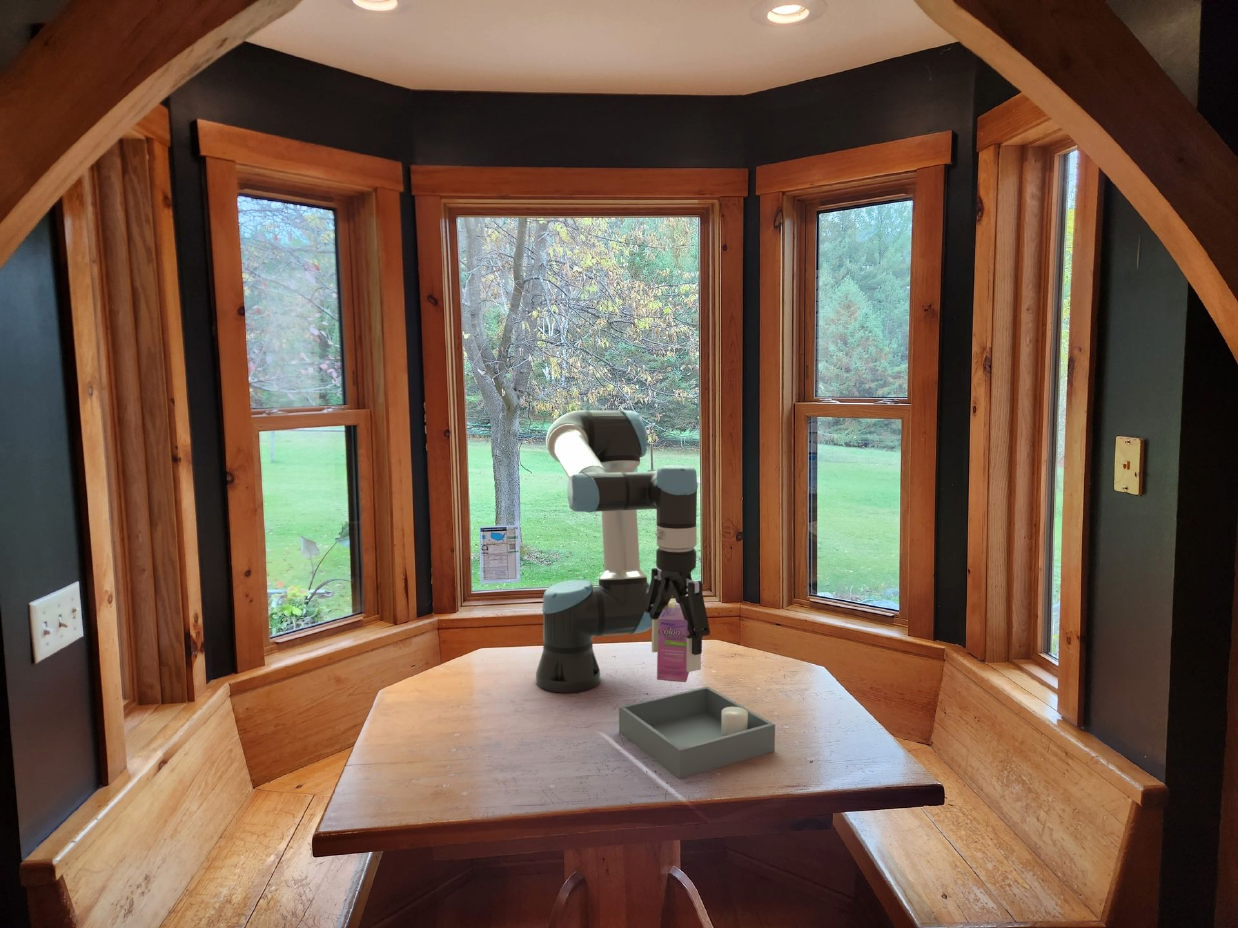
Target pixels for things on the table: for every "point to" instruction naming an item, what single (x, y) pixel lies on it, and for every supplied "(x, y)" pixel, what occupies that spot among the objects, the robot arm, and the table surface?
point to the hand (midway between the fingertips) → (675, 660)
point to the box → (672, 644)
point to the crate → (693, 732)
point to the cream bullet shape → (733, 720)
